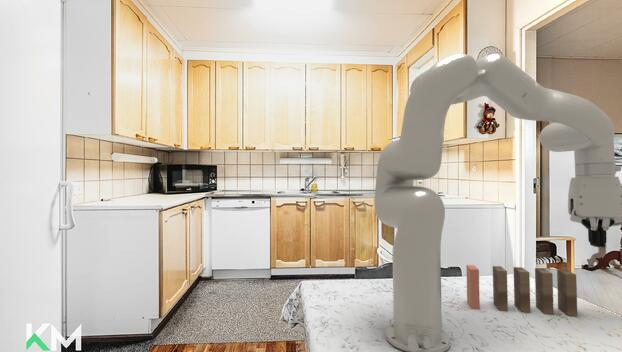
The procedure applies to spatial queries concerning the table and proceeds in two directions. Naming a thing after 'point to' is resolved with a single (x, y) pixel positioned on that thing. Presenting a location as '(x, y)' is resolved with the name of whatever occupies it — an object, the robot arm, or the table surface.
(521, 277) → the tile
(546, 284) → the tile
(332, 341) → the table surface
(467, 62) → the robot arm
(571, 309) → the tile
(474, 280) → the red tile
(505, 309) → the tile
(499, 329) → the table surface
